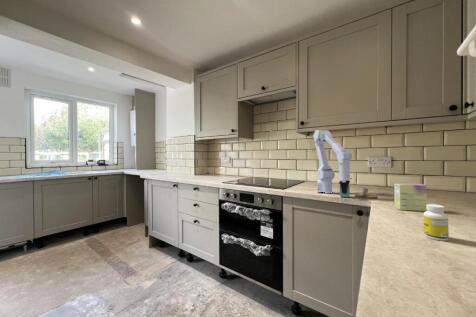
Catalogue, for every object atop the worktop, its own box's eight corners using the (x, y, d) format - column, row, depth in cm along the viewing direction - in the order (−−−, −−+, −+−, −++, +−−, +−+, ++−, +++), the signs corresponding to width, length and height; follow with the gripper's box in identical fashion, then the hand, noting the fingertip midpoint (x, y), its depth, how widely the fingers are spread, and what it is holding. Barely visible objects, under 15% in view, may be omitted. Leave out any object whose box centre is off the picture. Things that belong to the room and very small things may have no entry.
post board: (355, 197, 125) (355, 188, 125) (355, 194, 134) (355, 186, 134) (376, 198, 119) (376, 189, 119) (375, 195, 128) (375, 187, 128)
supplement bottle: (423, 232, 66) (422, 202, 66) (447, 236, 62) (446, 205, 62) (424, 238, 62) (424, 206, 62) (450, 242, 58) (449, 208, 58)
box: (419, 208, 96) (419, 183, 96) (427, 211, 90) (427, 185, 90) (394, 207, 99) (393, 183, 99) (399, 210, 93) (399, 184, 93)
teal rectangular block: (339, 196, 124) (339, 185, 124) (340, 194, 129) (340, 184, 129) (349, 197, 122) (349, 186, 122) (349, 195, 126) (349, 185, 126)
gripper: (351, 171, 117) (351, 195, 117) (352, 170, 129) (352, 191, 129) (337, 171, 121) (338, 194, 121) (339, 169, 133) (340, 190, 133)
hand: (344, 192), depth 125 cm, fingers closed on teal rectangular block, 5 cm apart
